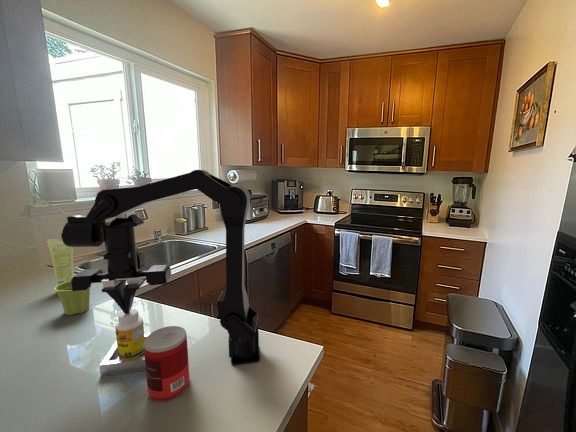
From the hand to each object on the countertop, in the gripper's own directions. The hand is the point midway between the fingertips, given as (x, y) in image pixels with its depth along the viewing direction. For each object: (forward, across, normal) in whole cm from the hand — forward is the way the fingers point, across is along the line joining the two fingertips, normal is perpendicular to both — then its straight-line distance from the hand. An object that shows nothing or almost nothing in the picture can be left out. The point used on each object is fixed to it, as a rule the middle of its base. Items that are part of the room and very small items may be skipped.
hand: (127, 312), depth 64 cm
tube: (+12, +37, -46) cm, 60 cm away
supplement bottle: (+10, 0, 0) cm, 11 cm away
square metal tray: (+11, -1, 0) cm, 11 cm away
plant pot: (+12, +25, -28) cm, 39 cm away
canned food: (+12, -10, +11) cm, 19 cm away
